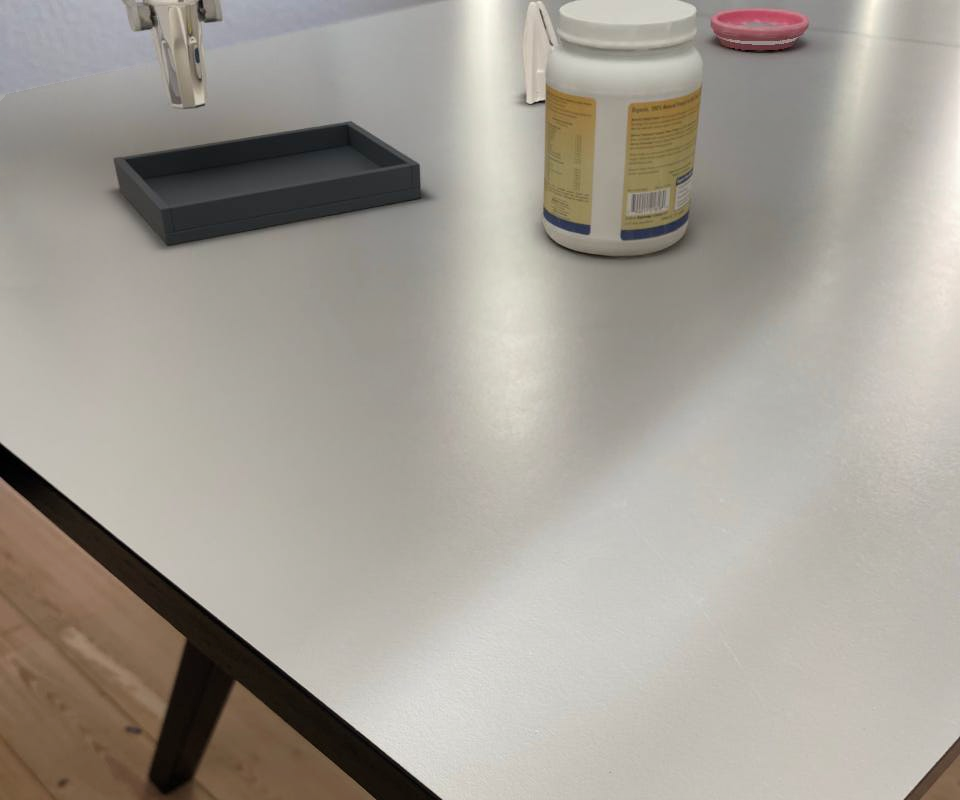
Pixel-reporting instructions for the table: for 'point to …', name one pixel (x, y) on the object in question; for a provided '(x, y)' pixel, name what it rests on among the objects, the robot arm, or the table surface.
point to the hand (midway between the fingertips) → (176, 25)
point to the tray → (265, 181)
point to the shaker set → (537, 50)
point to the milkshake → (180, 51)
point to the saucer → (729, 29)
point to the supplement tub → (621, 125)
